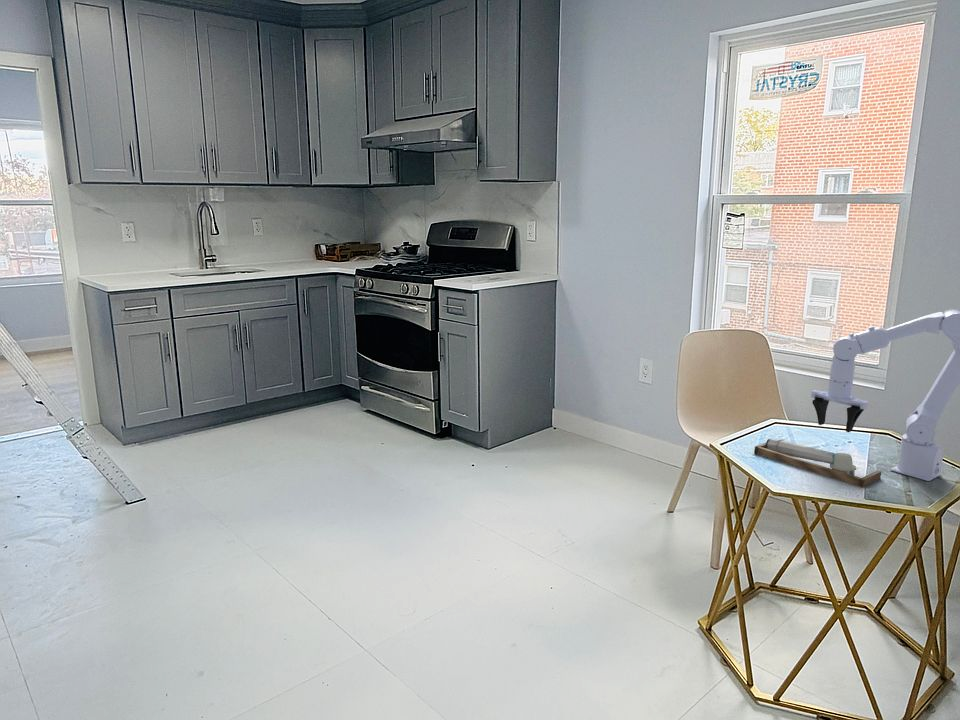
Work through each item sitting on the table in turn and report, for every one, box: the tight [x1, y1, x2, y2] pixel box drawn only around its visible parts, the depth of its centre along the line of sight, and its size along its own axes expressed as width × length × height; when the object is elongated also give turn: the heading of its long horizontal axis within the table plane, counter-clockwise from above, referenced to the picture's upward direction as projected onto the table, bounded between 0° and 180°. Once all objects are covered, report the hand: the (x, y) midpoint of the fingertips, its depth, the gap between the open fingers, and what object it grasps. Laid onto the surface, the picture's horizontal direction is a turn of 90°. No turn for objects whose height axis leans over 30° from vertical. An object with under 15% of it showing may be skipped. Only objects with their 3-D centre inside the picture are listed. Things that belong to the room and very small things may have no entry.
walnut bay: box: [753, 442, 883, 488], centre depth 188 cm, size 30×10×2 cm, turn 37°
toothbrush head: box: [765, 438, 857, 476], centre depth 189 cm, size 5×7×25 cm
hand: (834, 427), depth 191 cm, fingers open, 7 cm apart
